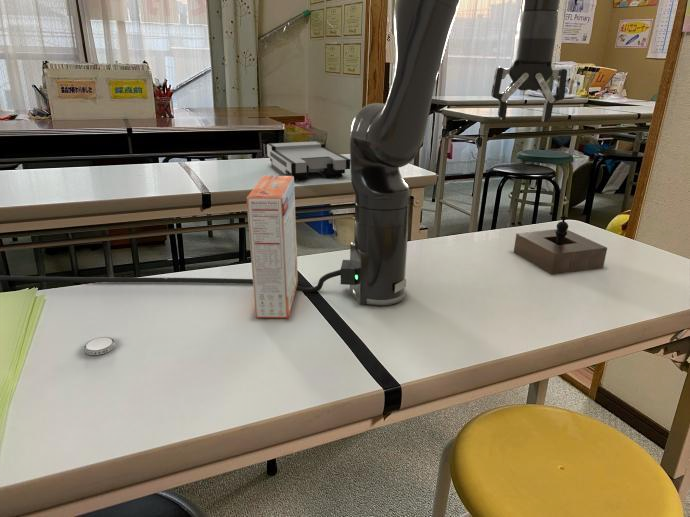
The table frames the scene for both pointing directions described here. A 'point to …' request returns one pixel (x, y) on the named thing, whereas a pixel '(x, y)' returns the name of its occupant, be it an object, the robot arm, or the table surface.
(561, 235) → the chess piece
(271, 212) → the cracker box
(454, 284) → the table surface
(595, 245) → the pad block
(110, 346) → the silver round flat disc
